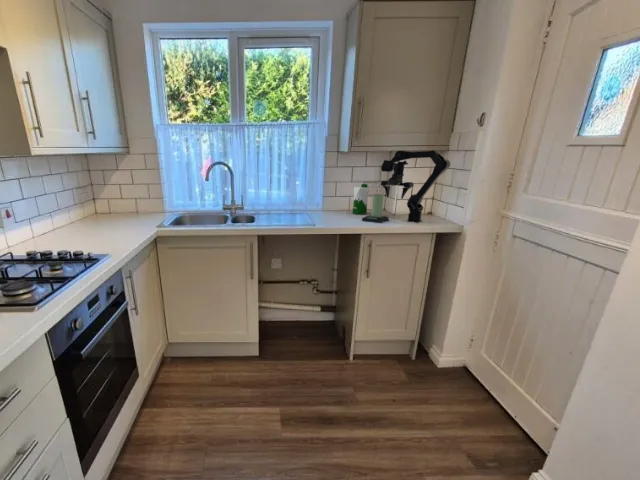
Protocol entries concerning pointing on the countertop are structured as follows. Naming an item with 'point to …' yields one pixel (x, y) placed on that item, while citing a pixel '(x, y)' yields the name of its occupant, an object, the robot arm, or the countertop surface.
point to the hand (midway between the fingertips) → (394, 198)
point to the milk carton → (360, 199)
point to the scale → (375, 219)
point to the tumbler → (377, 205)
